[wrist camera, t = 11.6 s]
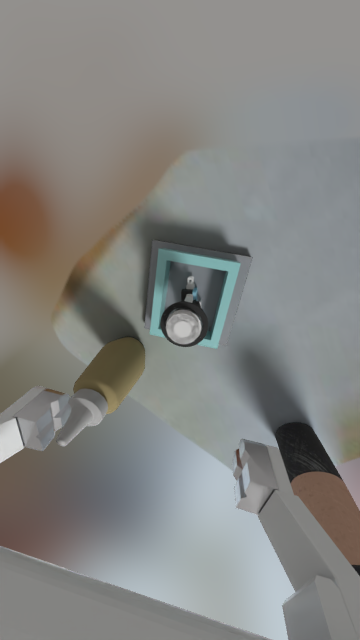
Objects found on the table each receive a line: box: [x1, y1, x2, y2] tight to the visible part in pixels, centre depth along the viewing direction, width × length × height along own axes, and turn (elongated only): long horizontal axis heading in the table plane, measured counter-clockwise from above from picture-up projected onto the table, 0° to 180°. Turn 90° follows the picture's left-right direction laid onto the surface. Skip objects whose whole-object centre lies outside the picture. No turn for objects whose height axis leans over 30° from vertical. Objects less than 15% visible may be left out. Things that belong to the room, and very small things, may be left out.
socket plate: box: [145, 240, 253, 349], centre depth 28 cm, size 14×14×4 cm
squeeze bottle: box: [56, 337, 145, 446], centre depth 27 cm, size 8×8×18 cm
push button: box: [160, 276, 208, 347], centre depth 24 cm, size 7×5×10 cm
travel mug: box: [276, 423, 360, 576], centre depth 28 cm, size 8×8×20 cm
